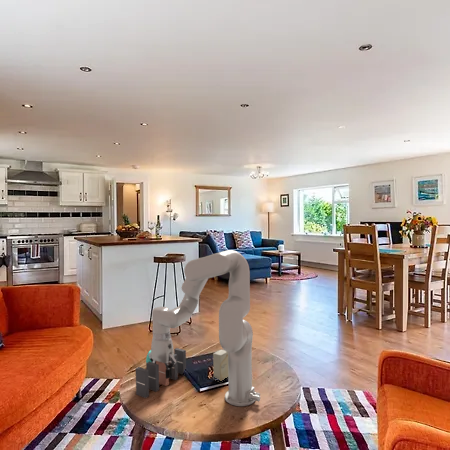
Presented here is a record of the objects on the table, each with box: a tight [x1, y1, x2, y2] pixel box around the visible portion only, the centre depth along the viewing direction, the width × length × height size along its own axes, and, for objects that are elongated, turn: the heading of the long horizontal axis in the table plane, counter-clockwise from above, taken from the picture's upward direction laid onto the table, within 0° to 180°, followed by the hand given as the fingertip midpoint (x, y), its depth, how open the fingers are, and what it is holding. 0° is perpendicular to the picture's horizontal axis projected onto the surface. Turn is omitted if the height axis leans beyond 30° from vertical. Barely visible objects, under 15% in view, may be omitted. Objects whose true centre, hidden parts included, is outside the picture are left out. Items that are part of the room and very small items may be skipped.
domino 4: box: [168, 354, 179, 381], centre depth 158 cm, size 2×6×11 cm, turn 57°
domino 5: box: [173, 347, 187, 375], centre depth 163 cm, size 2×6×11 cm, turn 57°
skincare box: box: [212, 348, 228, 382], centre depth 156 cm, size 6×4×12 cm
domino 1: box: [135, 366, 150, 399], centre depth 143 cm, size 2×6×11 cm, turn 57°
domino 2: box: [145, 362, 160, 392], centre depth 148 cm, size 2×6×11 cm, turn 57°
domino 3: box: [156, 361, 170, 387], centre depth 152 cm, size 2×6×11 cm, turn 57°
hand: (162, 375), depth 153 cm, fingers open, 6 cm apart
